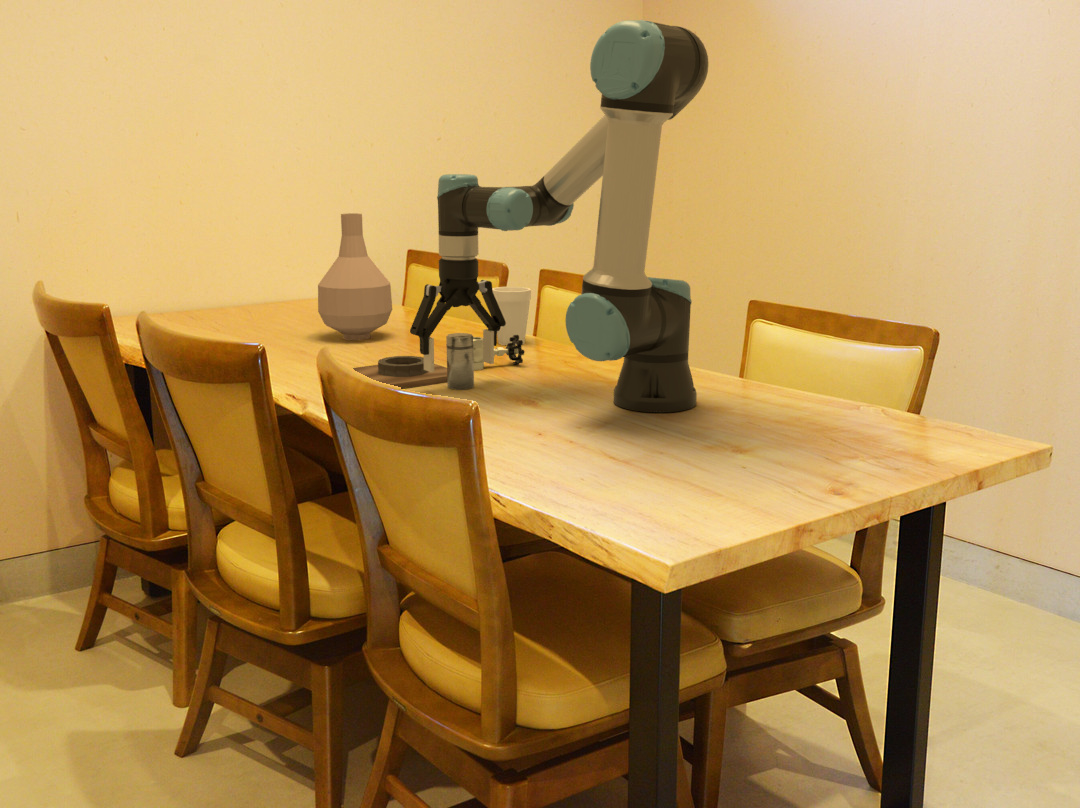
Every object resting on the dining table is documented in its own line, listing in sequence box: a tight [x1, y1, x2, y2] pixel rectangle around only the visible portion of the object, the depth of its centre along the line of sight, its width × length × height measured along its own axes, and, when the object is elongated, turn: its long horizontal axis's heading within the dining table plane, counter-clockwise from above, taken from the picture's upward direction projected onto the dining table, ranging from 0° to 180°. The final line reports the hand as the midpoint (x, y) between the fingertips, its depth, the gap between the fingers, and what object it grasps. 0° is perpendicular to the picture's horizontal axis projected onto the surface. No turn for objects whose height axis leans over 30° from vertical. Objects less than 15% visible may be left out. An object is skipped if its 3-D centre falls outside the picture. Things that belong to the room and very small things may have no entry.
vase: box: [317, 212, 393, 341], centre depth 247 cm, size 18×18×30 cm
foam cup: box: [492, 286, 532, 346], centre depth 243 cm, size 10×9×13 cm
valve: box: [473, 335, 525, 371], centre depth 217 cm, size 7×7×12 cm
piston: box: [445, 332, 475, 391], centre depth 199 cm, size 5×5×10 cm
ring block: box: [352, 355, 447, 389], centre depth 208 cm, size 18×18×3 cm
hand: (459, 366), depth 199 cm, fingers open, 13 cm apart
